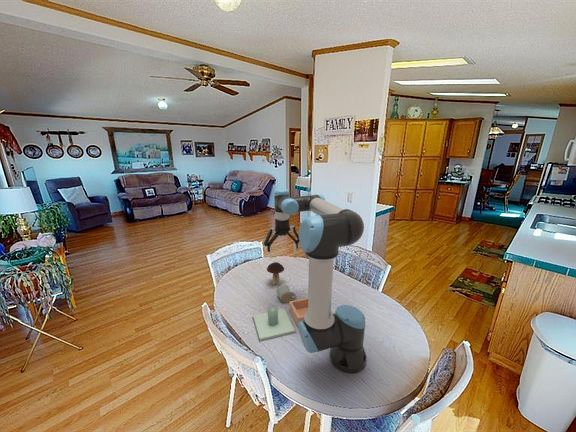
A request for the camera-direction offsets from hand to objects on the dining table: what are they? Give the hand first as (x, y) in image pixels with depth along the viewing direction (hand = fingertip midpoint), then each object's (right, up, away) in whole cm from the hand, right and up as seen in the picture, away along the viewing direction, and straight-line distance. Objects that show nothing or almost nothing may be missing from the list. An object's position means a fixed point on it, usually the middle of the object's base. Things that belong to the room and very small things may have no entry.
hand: (282, 255), depth 142 cm
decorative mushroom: (-5, -22, +23) cm, 32 cm away
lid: (-5, -32, -13) cm, 35 cm away
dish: (+12, -31, -7) cm, 34 cm away
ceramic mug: (+2, -27, +8) cm, 28 cm away
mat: (-5, -33, -13) cm, 36 cm away
